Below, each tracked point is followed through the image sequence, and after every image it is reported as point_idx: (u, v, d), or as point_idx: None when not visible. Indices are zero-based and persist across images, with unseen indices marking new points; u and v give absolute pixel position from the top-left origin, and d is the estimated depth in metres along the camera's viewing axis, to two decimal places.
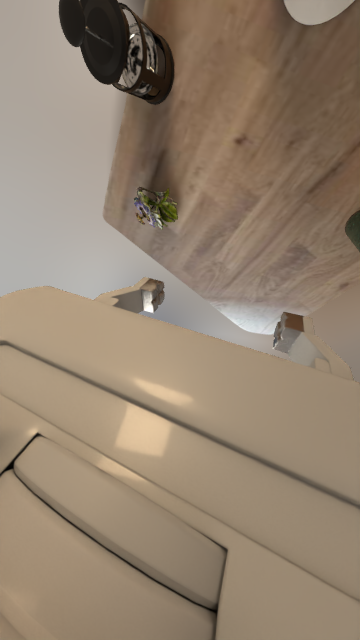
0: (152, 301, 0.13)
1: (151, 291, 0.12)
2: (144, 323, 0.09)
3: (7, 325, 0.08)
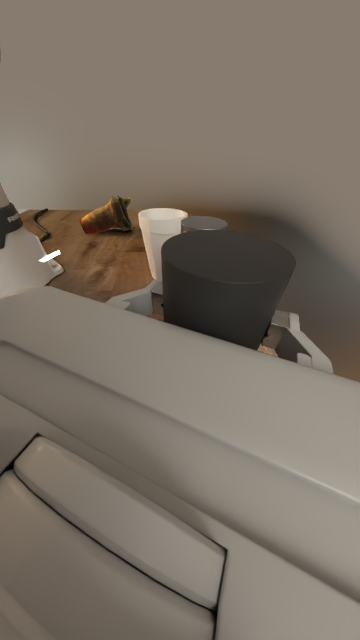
0: (162, 304, 0.13)
1: (162, 294, 0.12)
2: (144, 323, 0.09)
3: (7, 325, 0.08)
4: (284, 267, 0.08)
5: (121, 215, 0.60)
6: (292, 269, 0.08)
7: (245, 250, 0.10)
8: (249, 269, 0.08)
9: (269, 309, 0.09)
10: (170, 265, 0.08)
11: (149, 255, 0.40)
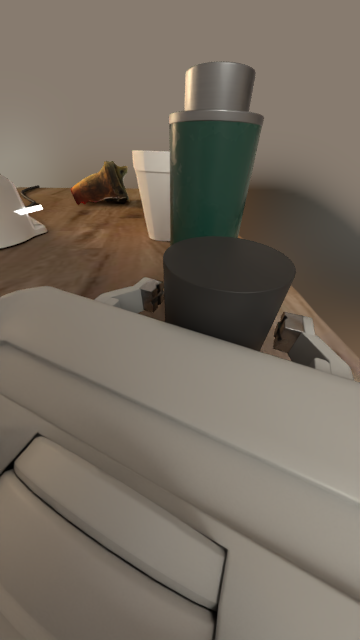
0: (152, 301, 0.13)
1: (151, 291, 0.12)
2: (144, 323, 0.09)
3: (7, 325, 0.08)
4: (284, 276, 0.08)
5: (116, 181, 0.54)
6: (292, 278, 0.08)
7: (246, 257, 0.10)
8: (250, 278, 0.08)
9: (269, 316, 0.09)
10: (173, 274, 0.08)
11: (145, 206, 0.34)
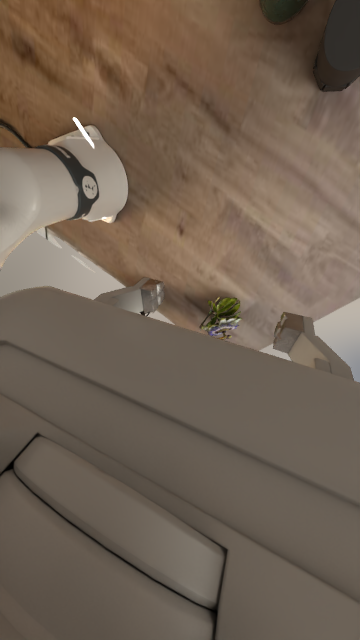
0: (152, 301, 0.13)
1: (151, 291, 0.12)
2: (144, 323, 0.09)
3: (7, 325, 0.08)
4: None
5: None
6: None
7: None
8: None
9: None
10: (346, 71, 0.20)
11: None
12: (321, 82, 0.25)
